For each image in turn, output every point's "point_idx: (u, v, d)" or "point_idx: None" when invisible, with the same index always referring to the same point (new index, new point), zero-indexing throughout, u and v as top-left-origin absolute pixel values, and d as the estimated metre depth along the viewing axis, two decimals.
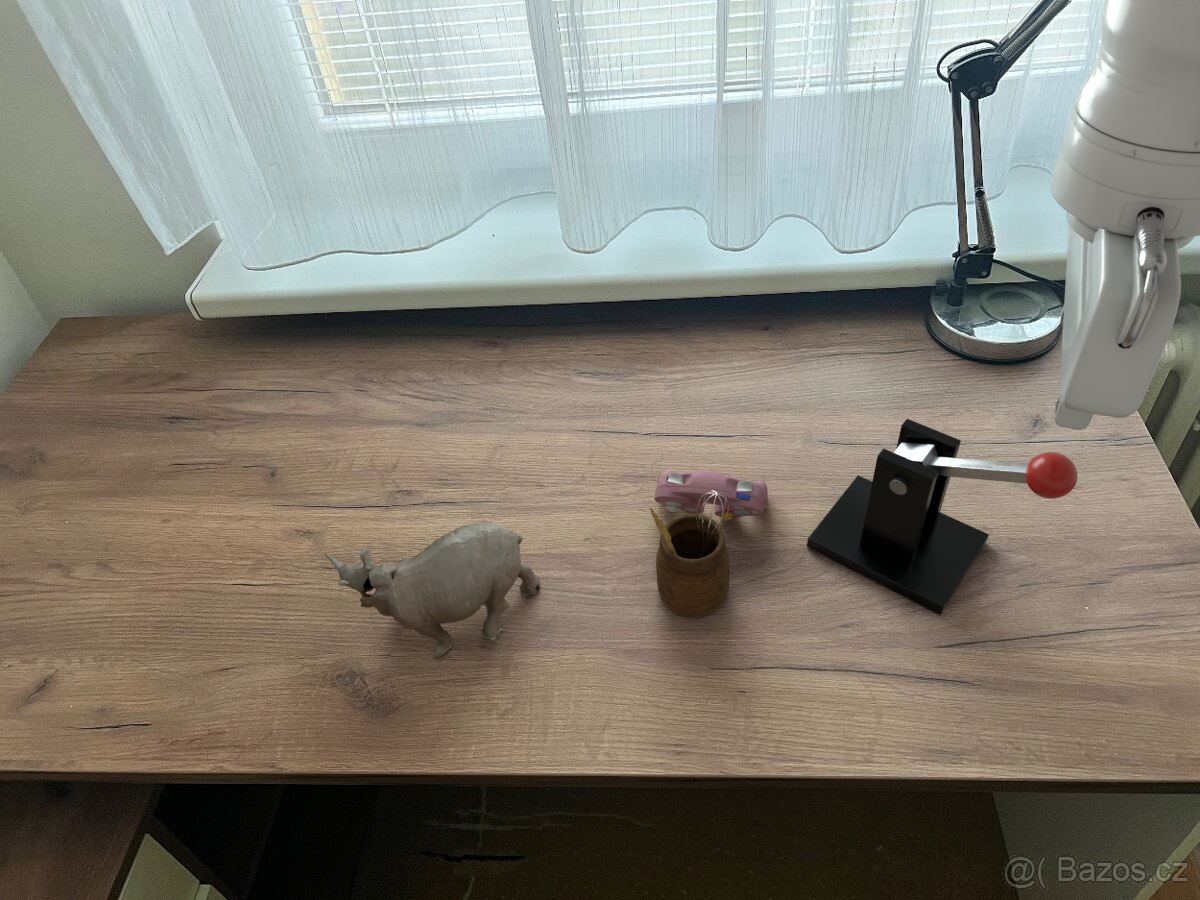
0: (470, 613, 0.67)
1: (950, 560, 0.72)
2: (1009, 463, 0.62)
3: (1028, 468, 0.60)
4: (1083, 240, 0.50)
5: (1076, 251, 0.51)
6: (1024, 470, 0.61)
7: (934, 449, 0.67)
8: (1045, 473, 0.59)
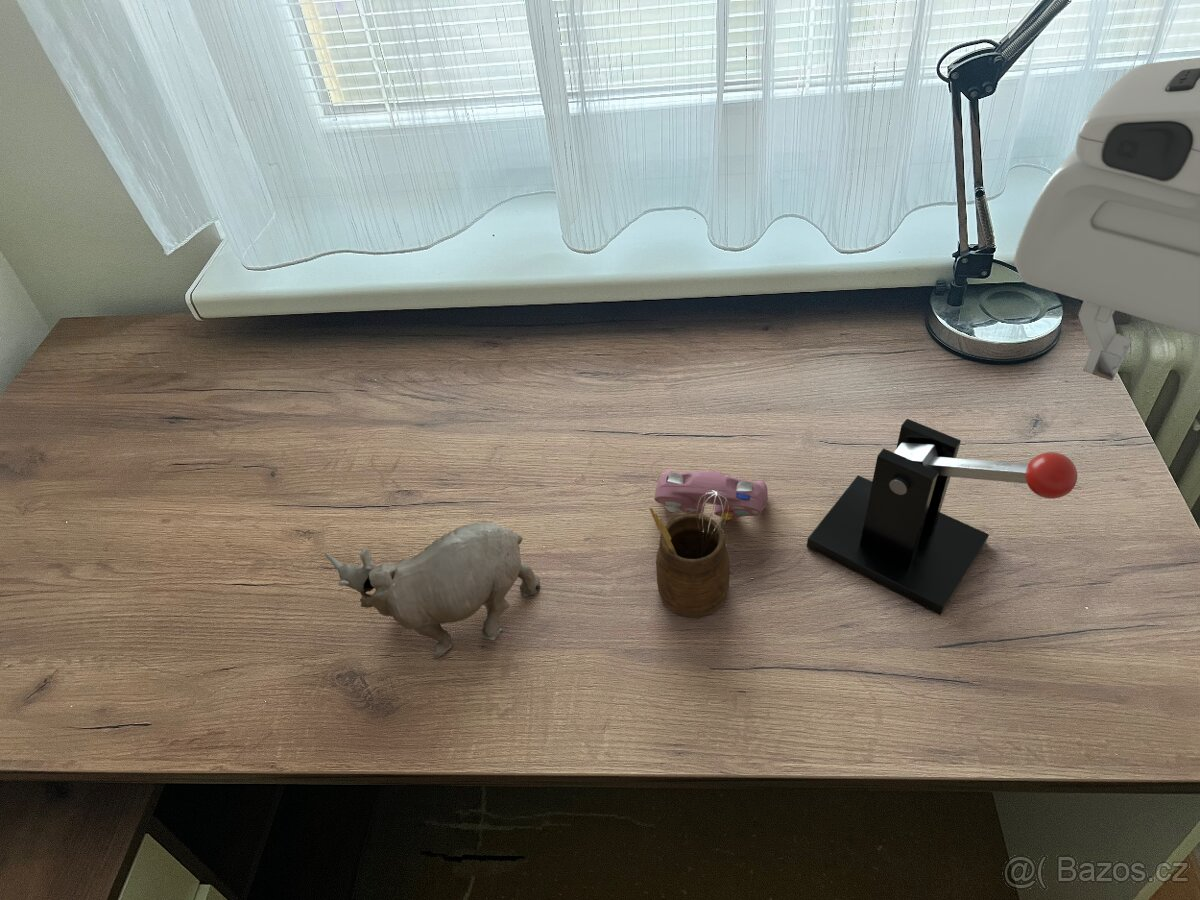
0: (470, 613, 0.67)
1: (950, 560, 0.72)
2: (1009, 463, 0.62)
3: (1028, 468, 0.60)
4: None
5: None
6: (1024, 470, 0.61)
7: (934, 449, 0.67)
8: (1045, 473, 0.59)
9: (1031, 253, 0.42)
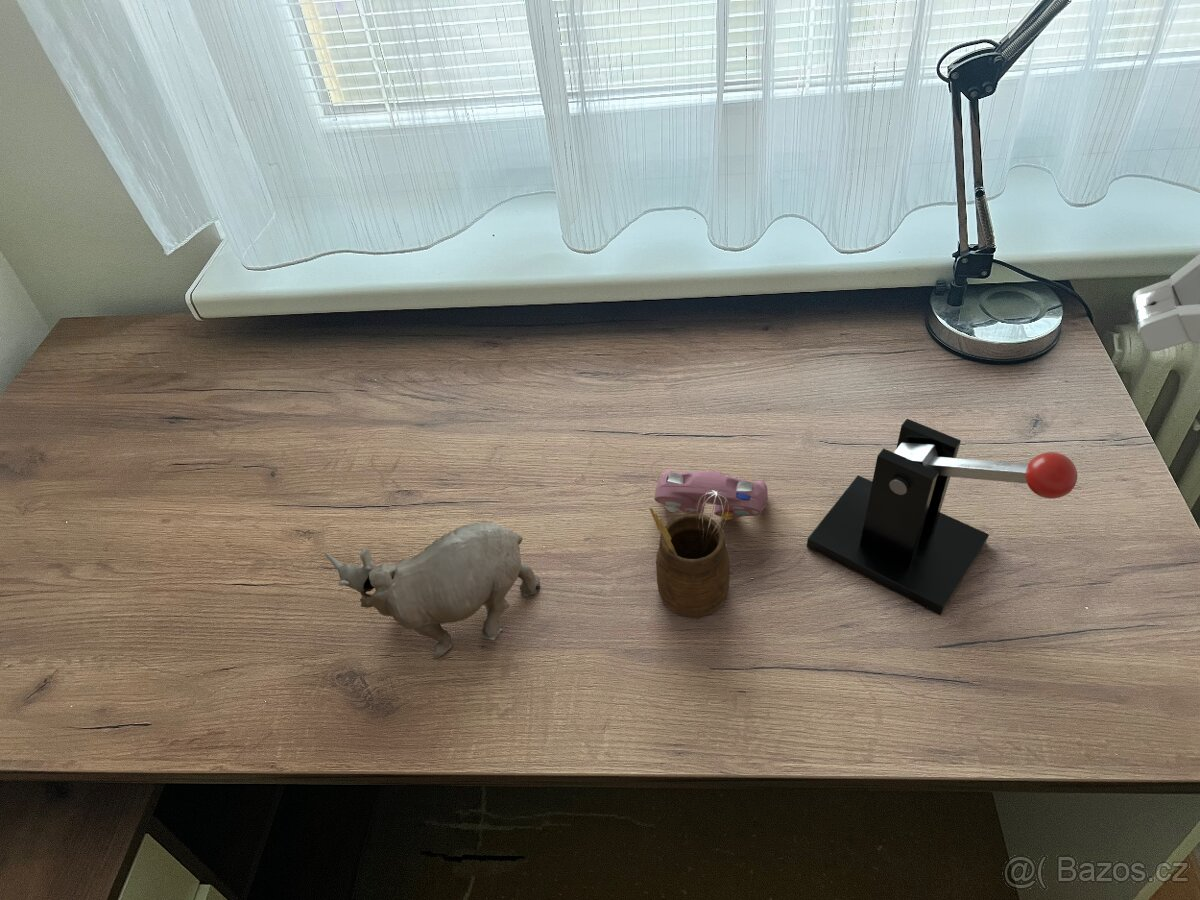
0: (470, 613, 0.67)
1: (950, 560, 0.72)
2: (1009, 463, 0.62)
3: (1028, 468, 0.60)
4: None
5: None
6: (1024, 470, 0.61)
7: (934, 449, 0.67)
8: (1045, 473, 0.59)
9: None
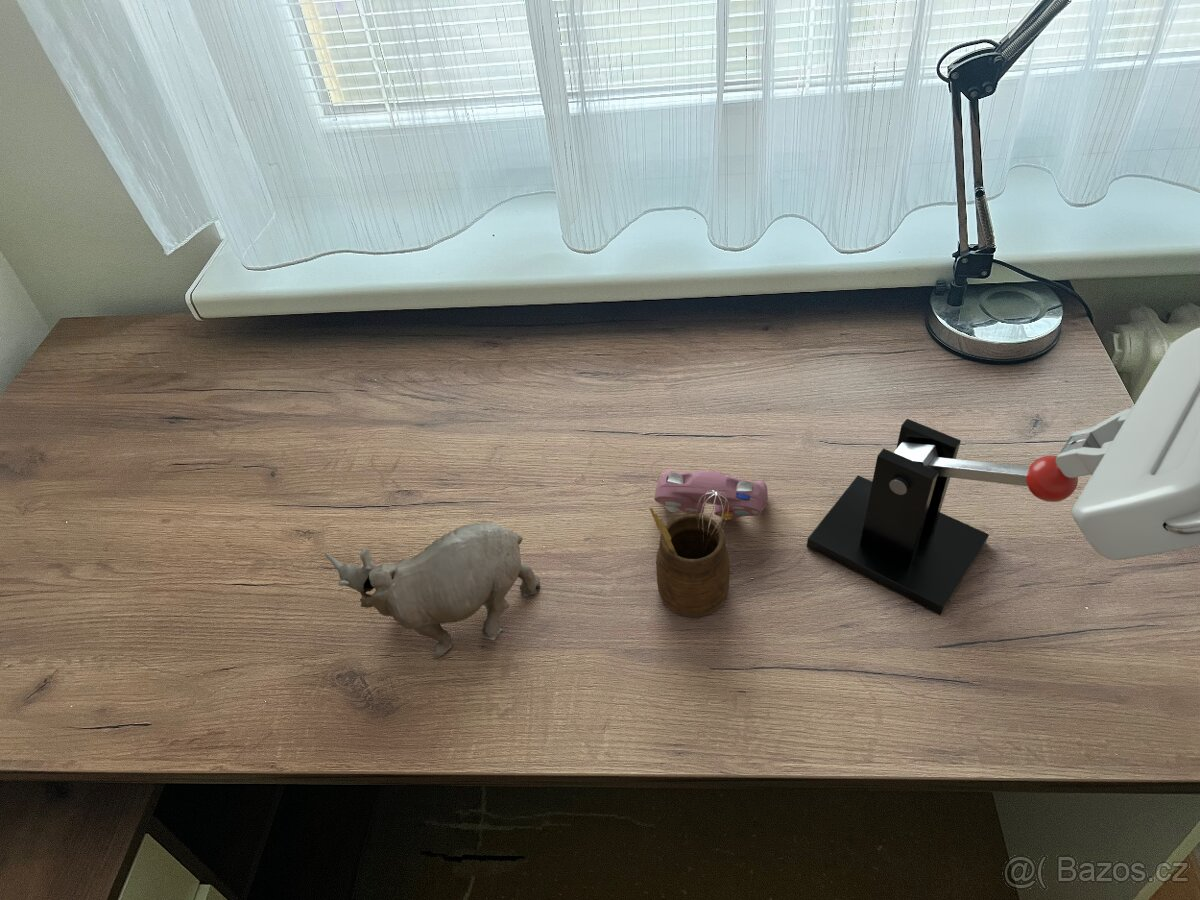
0: (470, 613, 0.67)
1: (950, 560, 0.72)
2: (1010, 465, 0.62)
3: (1029, 471, 0.60)
4: (1193, 394, 0.52)
5: (1175, 392, 0.53)
6: (1025, 473, 0.61)
7: (934, 450, 0.67)
8: (1046, 476, 0.59)
9: (1197, 330, 0.58)
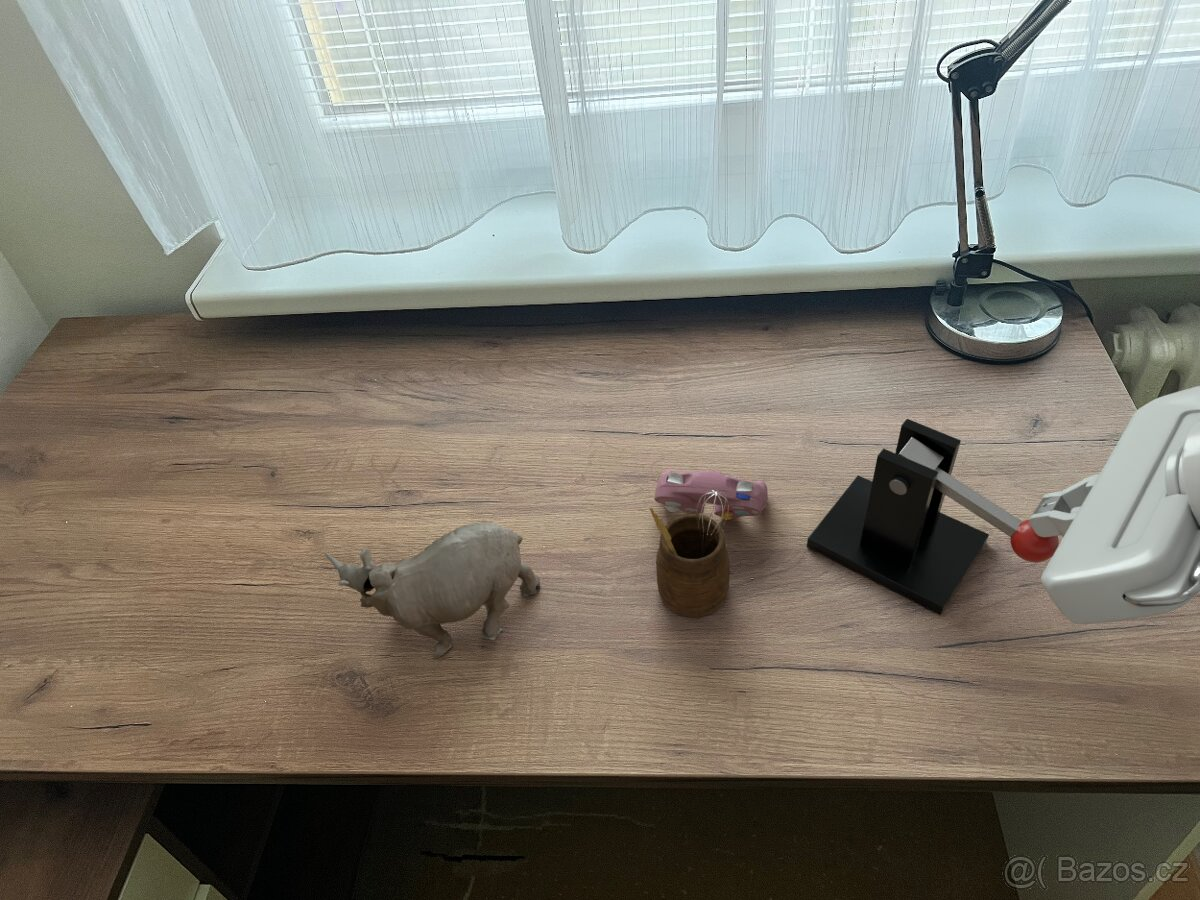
0: (470, 613, 0.67)
1: (950, 560, 0.72)
2: (1004, 511, 0.65)
3: (1023, 530, 0.64)
4: (1153, 467, 0.56)
5: (1137, 463, 0.58)
6: (1016, 527, 0.65)
7: None
8: (1038, 545, 0.63)
9: (1160, 400, 0.62)
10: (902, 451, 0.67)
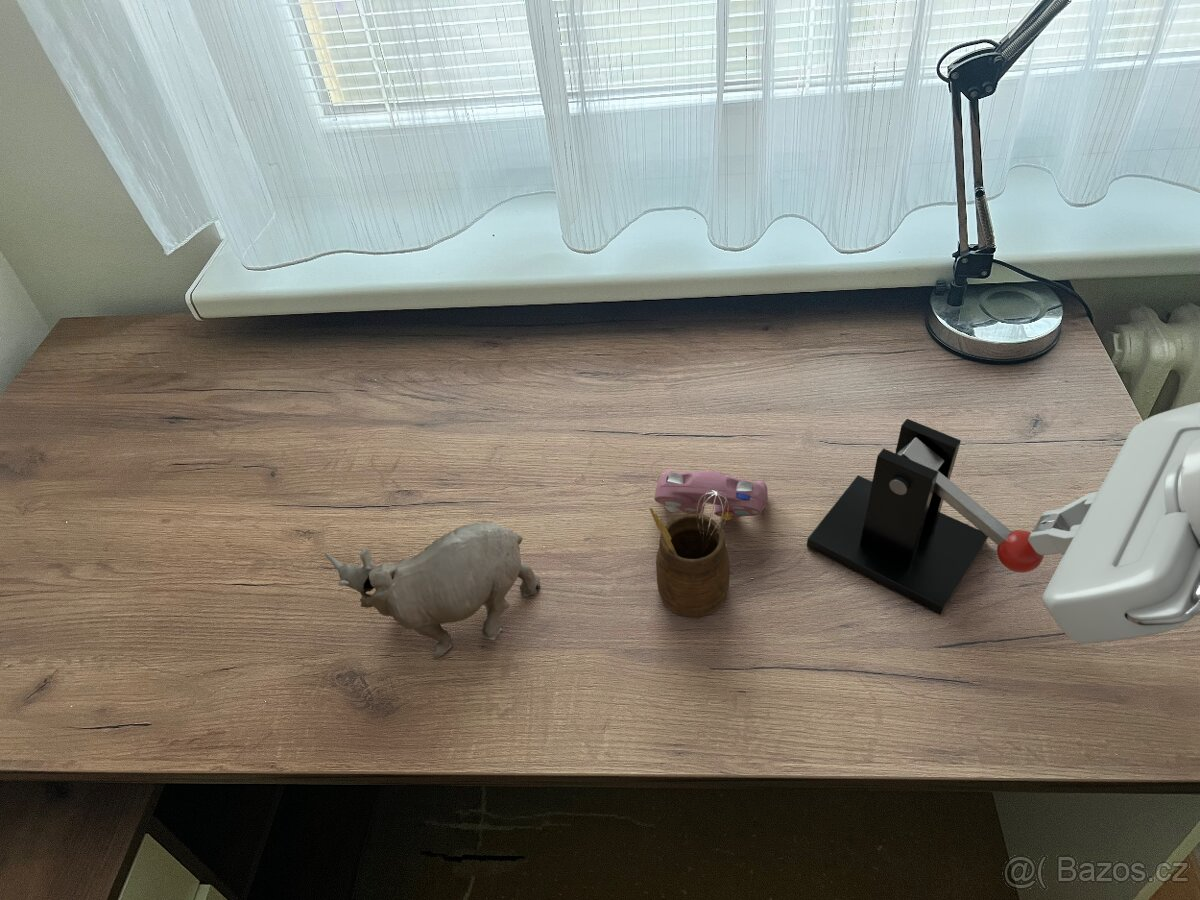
0: (470, 613, 0.67)
1: (950, 560, 0.72)
2: (995, 520, 0.66)
3: (1013, 541, 0.65)
4: (1151, 484, 0.56)
5: (1136, 481, 0.58)
6: (1006, 537, 0.66)
7: (941, 464, 0.67)
8: (1026, 557, 0.65)
9: (1156, 417, 0.62)
10: (906, 451, 0.66)
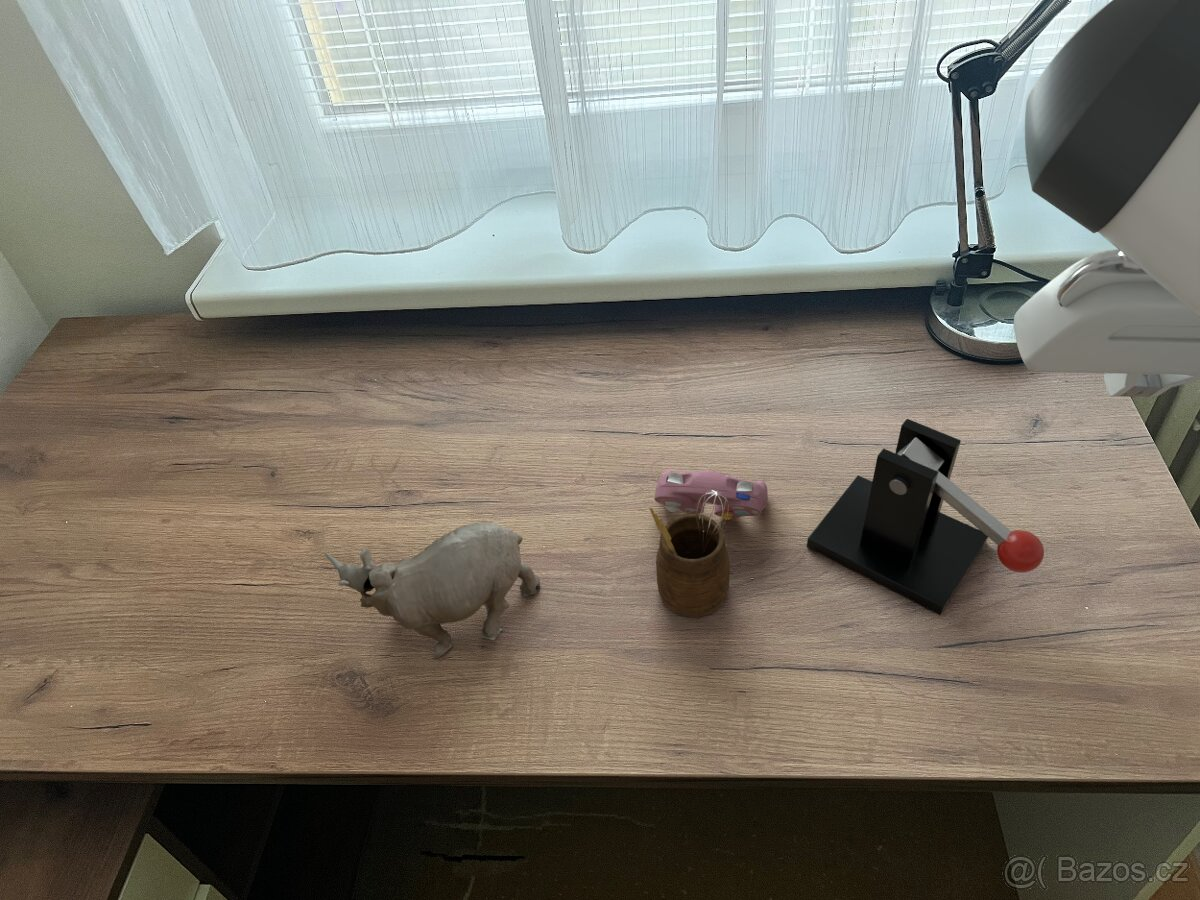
0: (470, 613, 0.67)
1: (950, 560, 0.72)
2: (995, 520, 0.66)
3: (1013, 541, 0.65)
4: None
5: None
6: (1006, 537, 0.66)
7: (941, 464, 0.67)
8: (1026, 557, 0.65)
9: None
10: (906, 451, 0.66)
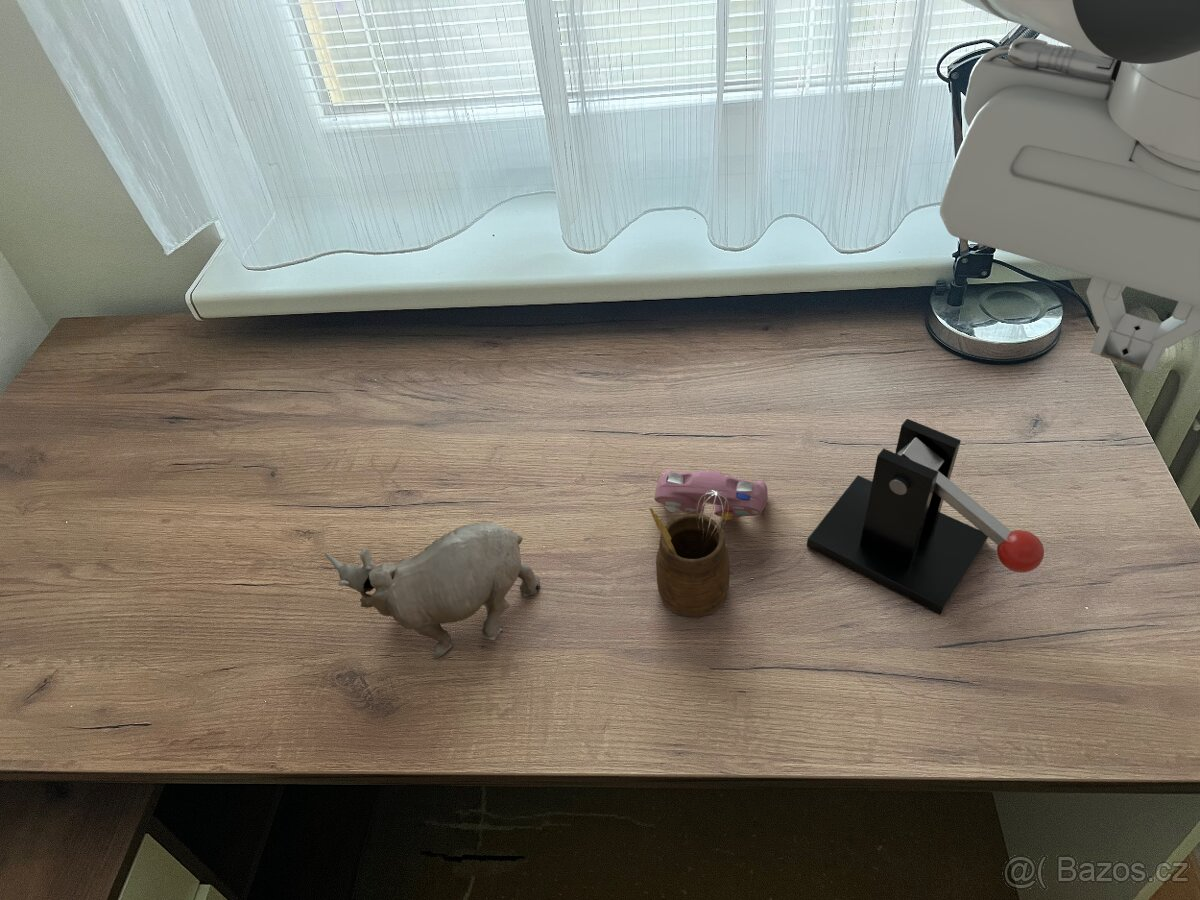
0: (470, 613, 0.67)
1: (950, 560, 0.72)
2: (995, 520, 0.66)
3: (1013, 541, 0.65)
4: None
5: None
6: (1006, 537, 0.66)
7: (941, 464, 0.67)
8: (1026, 557, 0.65)
9: None
10: (906, 451, 0.66)
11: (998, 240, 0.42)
